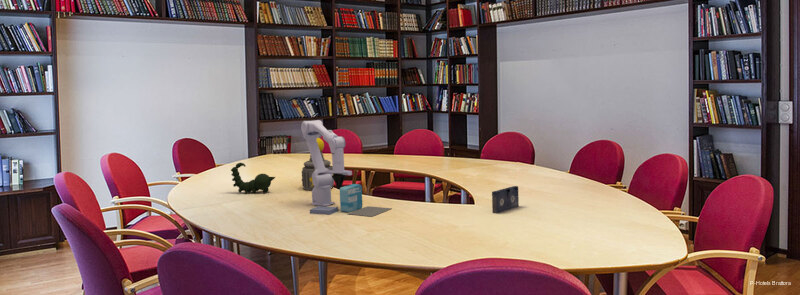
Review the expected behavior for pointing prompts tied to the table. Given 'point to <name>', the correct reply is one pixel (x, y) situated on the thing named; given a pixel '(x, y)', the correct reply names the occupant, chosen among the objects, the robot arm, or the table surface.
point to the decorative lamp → (313, 169)
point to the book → (323, 210)
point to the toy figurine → (254, 185)
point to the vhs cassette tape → (505, 199)
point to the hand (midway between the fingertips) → (339, 189)
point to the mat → (369, 211)
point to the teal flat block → (350, 198)
